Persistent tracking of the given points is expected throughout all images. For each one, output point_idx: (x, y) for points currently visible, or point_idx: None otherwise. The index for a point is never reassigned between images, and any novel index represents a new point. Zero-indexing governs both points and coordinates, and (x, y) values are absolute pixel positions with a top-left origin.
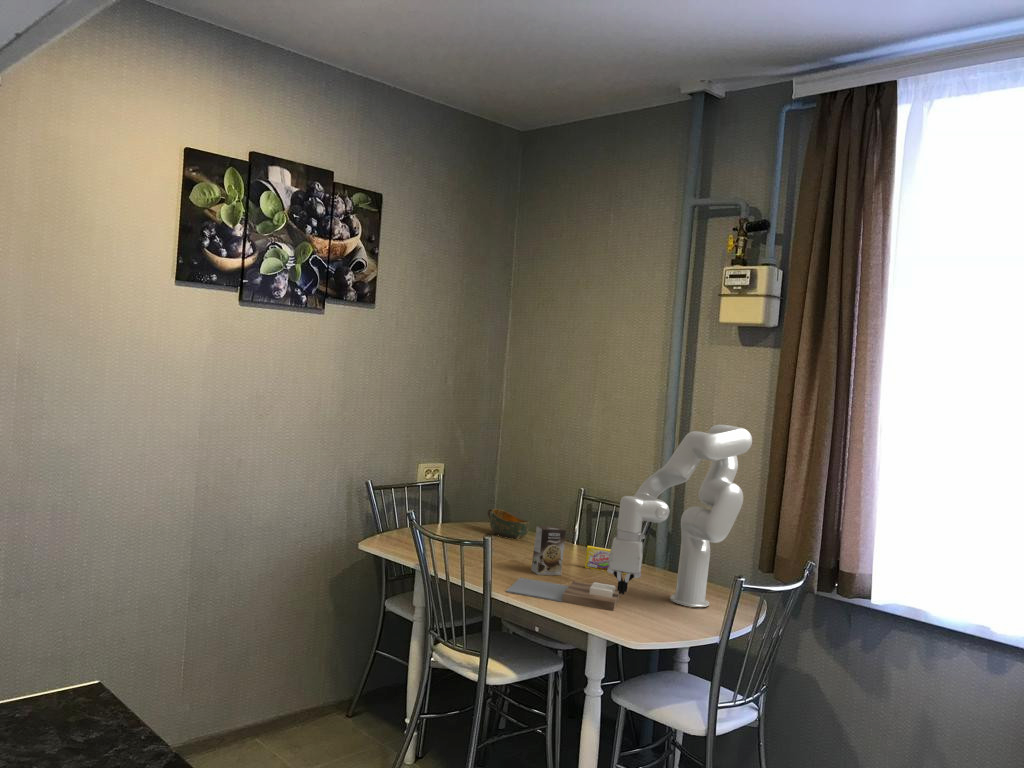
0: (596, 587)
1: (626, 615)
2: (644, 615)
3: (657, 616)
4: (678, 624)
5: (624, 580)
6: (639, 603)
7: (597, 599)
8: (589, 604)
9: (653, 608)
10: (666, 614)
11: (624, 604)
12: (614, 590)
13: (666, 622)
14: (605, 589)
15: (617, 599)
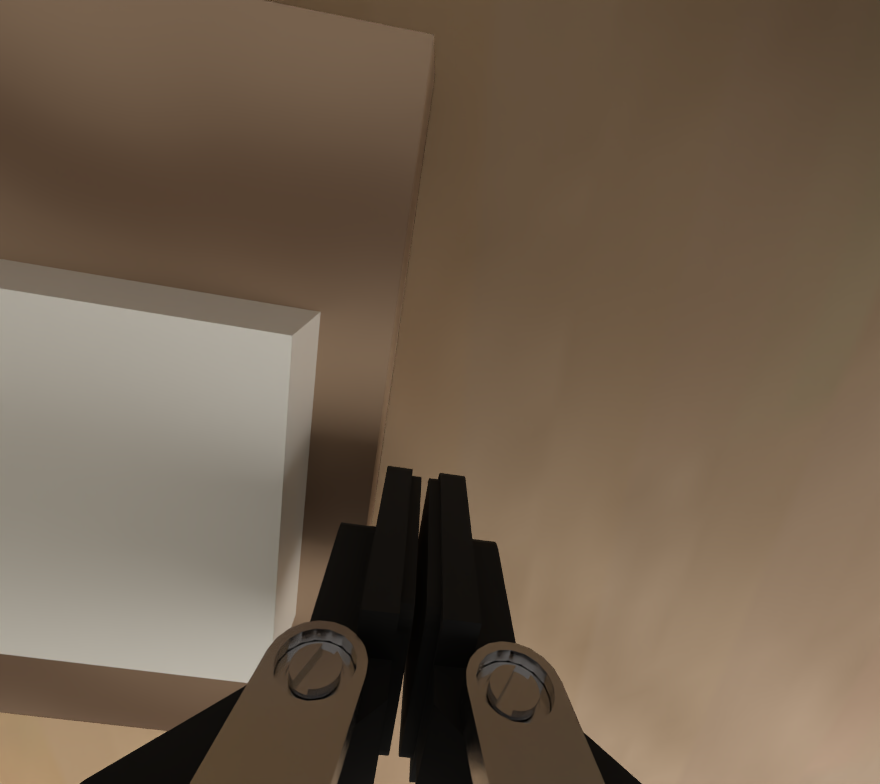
0: (13, 597)
1: None
2: (620, 684)
3: (738, 668)
4: (853, 776)
5: (429, 777)
6: (665, 312)
7: (155, 722)
8: None
9: (788, 446)
10: (859, 586)
11: (467, 438)
12: (307, 377)
13: (765, 768)
14: (163, 633)
15: (379, 454)
